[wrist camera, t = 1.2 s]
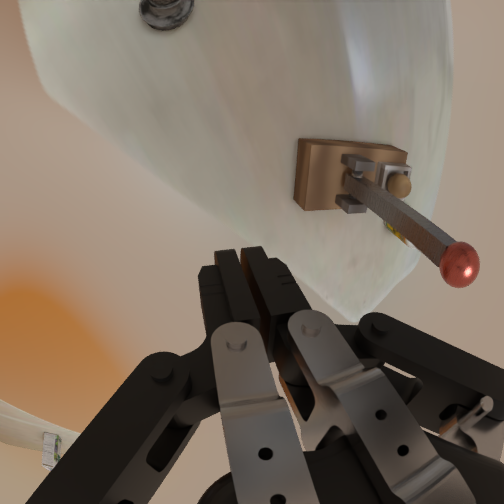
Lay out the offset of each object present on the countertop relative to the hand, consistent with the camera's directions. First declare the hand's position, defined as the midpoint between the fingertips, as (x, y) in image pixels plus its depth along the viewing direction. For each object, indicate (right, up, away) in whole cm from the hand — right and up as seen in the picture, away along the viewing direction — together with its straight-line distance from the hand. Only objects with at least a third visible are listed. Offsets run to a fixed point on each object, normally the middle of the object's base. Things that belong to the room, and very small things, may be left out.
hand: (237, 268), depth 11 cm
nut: (+21, +11, +27) cm, 36 cm away
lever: (+14, +9, +24) cm, 29 cm away
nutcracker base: (+15, +13, +29) cm, 35 cm away
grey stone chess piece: (-9, +28, +12) cm, 32 cm away
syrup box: (-70, -65, +55) cm, 111 cm away
